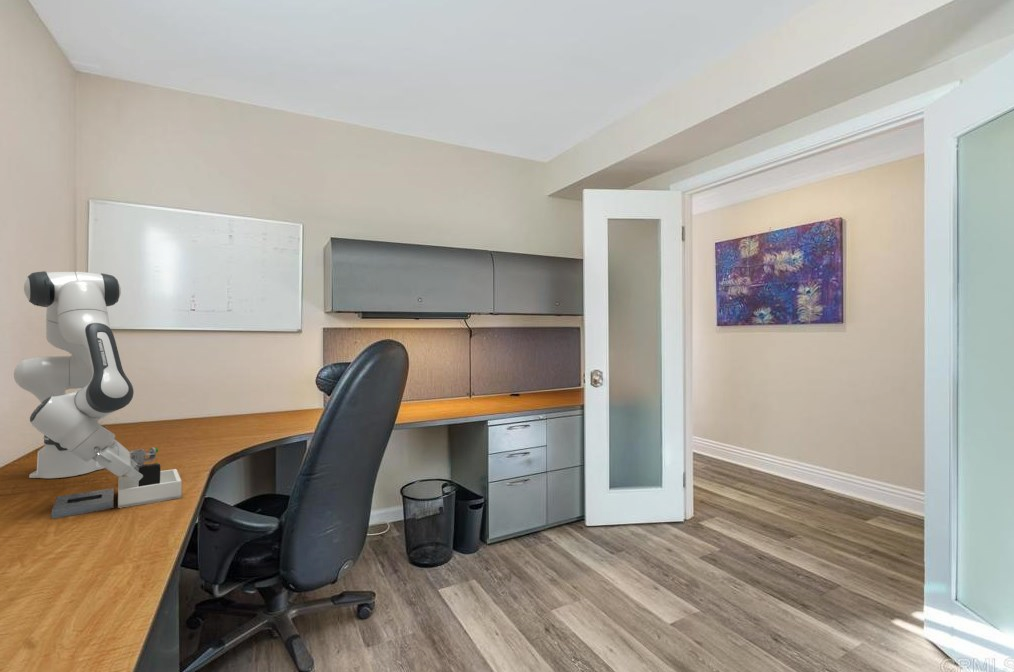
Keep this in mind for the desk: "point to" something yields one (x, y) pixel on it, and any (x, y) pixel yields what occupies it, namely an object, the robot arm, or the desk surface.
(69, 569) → the desk surface
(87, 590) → the desk surface
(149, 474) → the ink cartridge
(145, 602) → the desk surface
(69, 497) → the plate
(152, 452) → the mechanical component
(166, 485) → the tray
